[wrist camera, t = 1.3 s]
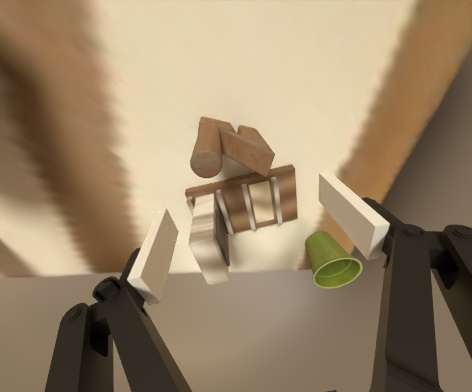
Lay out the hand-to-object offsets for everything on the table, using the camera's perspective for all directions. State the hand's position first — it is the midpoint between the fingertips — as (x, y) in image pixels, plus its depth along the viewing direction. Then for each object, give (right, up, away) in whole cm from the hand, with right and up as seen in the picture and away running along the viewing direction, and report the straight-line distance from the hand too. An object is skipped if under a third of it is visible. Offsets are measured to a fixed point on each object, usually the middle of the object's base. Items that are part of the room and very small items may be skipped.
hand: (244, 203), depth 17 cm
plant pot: (+23, -12, +39) cm, 47 cm away
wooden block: (-2, +13, +21) cm, 25 cm away
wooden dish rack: (+1, -1, +30) cm, 30 cm away
